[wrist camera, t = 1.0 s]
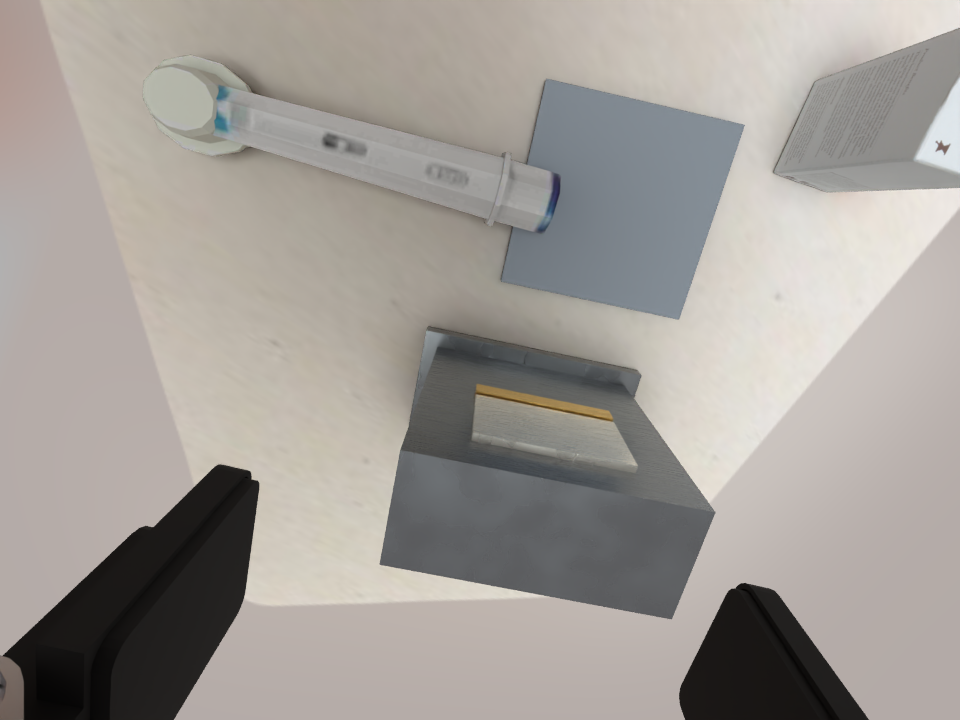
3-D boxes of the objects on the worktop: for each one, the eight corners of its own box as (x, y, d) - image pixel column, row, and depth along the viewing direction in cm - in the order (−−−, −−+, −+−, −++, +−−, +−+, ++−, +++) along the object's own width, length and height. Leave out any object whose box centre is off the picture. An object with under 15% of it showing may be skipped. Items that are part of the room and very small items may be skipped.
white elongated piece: (544, 249, 31) (102, 131, 27) (526, 238, 37) (165, 140, 34) (571, 160, 30) (106, 21, 26) (547, 164, 36) (171, 53, 32)
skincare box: (827, 194, 34) (994, 192, 23) (770, 173, 34) (910, 161, 23) (875, 98, 33) (1081, 46, 21) (815, 76, 32) (992, 10, 21)
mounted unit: (428, 326, 38) (380, 424, 21) (636, 370, 38) (745, 497, 22) (410, 423, 40) (355, 577, 24) (606, 462, 41) (685, 639, 24)
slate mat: (545, 81, 33) (546, 78, 32) (738, 126, 33) (744, 125, 33) (501, 279, 37) (501, 281, 36) (675, 317, 37) (678, 319, 36)
